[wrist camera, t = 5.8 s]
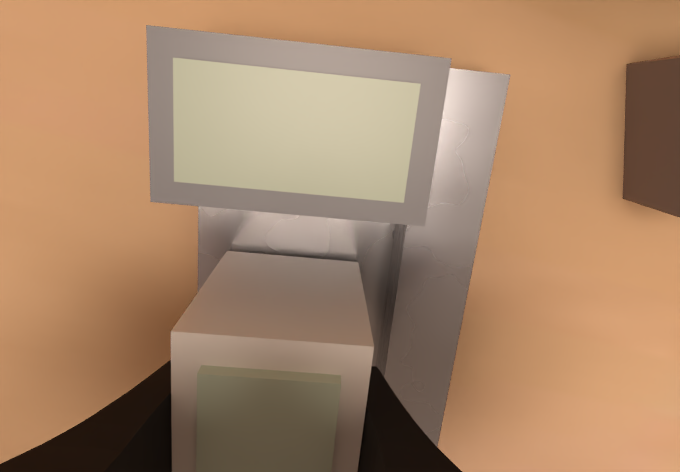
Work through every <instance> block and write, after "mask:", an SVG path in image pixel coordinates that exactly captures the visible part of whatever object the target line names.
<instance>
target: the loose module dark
mask: <svg viewBox="0 0 680 472" xmlns="http://www.w3.org/2000/svg"><path fill="white" fill-rule="evenodd" d="M623 199H626V200H629V201H632V202H635V203H638V204H641V205H644V206H647V207H650V208H653V209H656V210H659V211H662V212H665V213H668V214H671V215H674V216H677V217H680V55H679V56H673V57H667V58H661V59H655V60H648V61H642V62H636V63H630V64H627V69H626V105H625V140H624V175H623Z"/></svg>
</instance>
